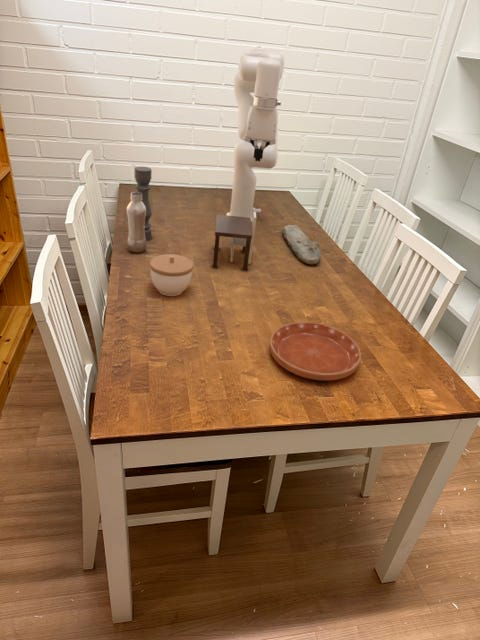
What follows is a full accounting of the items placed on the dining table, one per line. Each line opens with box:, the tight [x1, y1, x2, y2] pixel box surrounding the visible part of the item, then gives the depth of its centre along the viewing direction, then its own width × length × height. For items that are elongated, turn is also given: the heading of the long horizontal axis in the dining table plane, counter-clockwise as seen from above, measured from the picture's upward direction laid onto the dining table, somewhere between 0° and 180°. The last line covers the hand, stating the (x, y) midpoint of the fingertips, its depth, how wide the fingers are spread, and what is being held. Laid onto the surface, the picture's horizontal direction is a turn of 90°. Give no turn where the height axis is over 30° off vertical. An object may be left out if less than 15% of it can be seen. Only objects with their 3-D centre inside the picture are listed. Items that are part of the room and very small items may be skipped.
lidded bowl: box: [149, 253, 194, 297], centre depth 140 cm, size 13×13×11 cm
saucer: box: [269, 321, 362, 381], centre depth 120 cm, size 23×23×4 cm
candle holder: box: [134, 166, 152, 242], centre depth 168 cm, size 6×6×25 cm
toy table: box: [212, 213, 252, 272], centre depth 164 cm, size 12×17×13 cm
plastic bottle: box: [126, 191, 147, 253], centre depth 159 cm, size 6×7×20 cm
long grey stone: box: [282, 224, 322, 265], centre depth 182 cm, size 35×5×10 cm
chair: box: [229, 212, 257, 265], centre depth 163 cm, size 7×6×17 cm
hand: (257, 160), depth 165 cm, fingers closed
